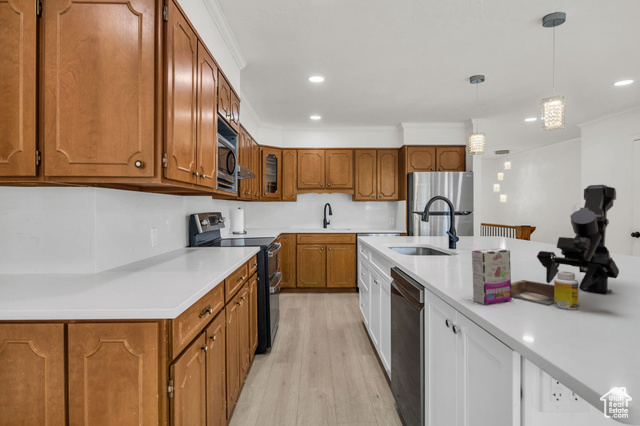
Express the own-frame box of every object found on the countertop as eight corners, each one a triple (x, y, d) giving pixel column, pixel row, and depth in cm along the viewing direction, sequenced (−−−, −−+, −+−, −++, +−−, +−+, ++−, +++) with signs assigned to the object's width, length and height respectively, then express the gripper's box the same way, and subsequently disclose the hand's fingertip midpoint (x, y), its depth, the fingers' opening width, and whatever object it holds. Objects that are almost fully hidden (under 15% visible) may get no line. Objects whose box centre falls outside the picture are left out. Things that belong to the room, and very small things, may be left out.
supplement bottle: (574, 311, 86) (574, 275, 86) (551, 306, 90) (550, 272, 90) (581, 308, 89) (581, 273, 89) (558, 303, 94) (558, 270, 93)
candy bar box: (498, 297, 101) (497, 247, 101) (512, 301, 96) (511, 249, 96) (471, 301, 97) (471, 250, 97) (484, 305, 93) (484, 252, 93)
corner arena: (524, 291, 108) (524, 279, 108) (565, 299, 97) (565, 286, 97) (506, 296, 102) (506, 284, 102) (548, 305, 91) (548, 292, 91)
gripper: (539, 226, 100) (518, 262, 95) (613, 229, 83) (591, 273, 78) (554, 248, 103) (534, 285, 98) (627, 255, 86) (607, 300, 81)
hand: (563, 285), depth 89 cm, fingers open, 8 cm apart
